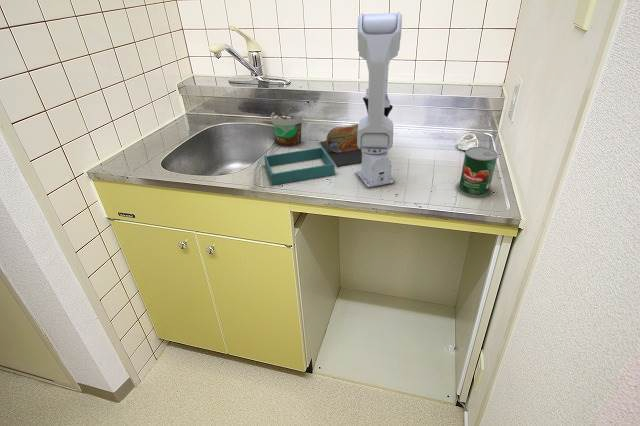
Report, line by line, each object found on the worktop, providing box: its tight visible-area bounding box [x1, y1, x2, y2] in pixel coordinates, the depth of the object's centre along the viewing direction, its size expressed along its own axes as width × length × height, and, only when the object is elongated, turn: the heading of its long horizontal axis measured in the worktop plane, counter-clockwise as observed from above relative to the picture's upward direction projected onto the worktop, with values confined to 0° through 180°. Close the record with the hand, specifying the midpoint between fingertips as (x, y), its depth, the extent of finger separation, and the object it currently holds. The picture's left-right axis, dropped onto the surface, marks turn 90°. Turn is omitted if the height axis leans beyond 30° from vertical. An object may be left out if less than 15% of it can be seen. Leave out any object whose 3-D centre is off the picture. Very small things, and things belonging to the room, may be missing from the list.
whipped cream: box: [457, 133, 480, 151], centre depth 125 cm, size 8×7×5 cm
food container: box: [270, 111, 304, 147], centre depth 133 cm, size 12×6×10 cm, turn 62°
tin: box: [325, 123, 360, 153], centre depth 126 cm, size 15×3×8 cm, turn 105°
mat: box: [320, 140, 362, 168], centre depth 129 cm, size 20×16×1 cm
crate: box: [264, 146, 336, 186], centre depth 117 cm, size 13×19×4 cm
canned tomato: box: [458, 146, 499, 198], centre depth 101 cm, size 8×8×11 cm
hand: (376, 122), depth 123 cm, fingers open, 7 cm apart
